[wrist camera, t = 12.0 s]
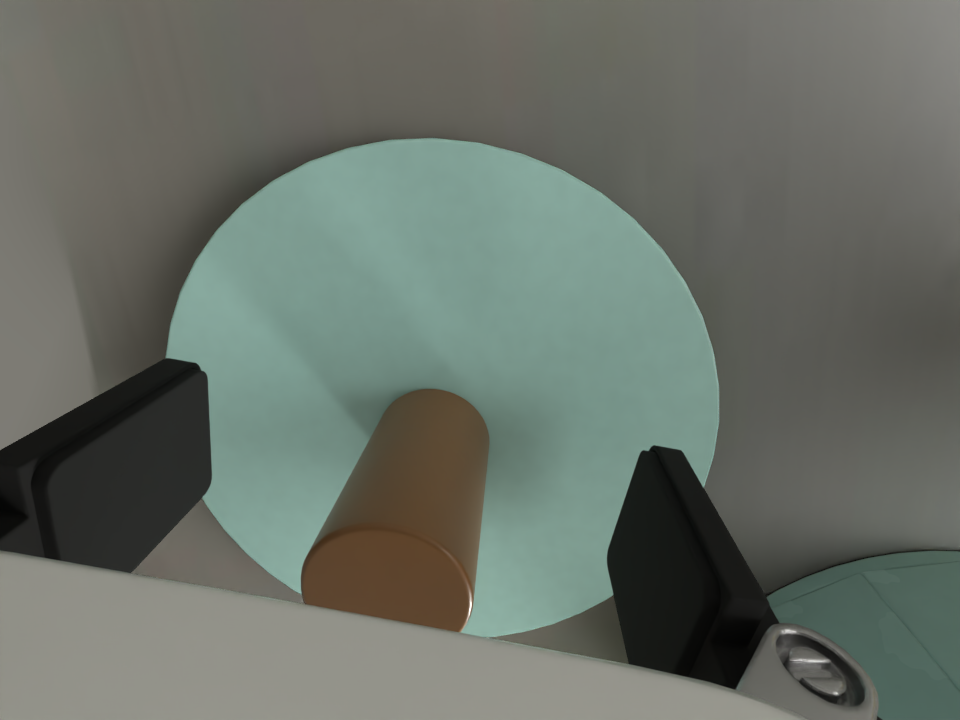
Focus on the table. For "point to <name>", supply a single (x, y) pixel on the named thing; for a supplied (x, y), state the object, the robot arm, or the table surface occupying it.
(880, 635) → the tin
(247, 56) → the table surface
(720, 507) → the table surface
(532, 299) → the tin lid
